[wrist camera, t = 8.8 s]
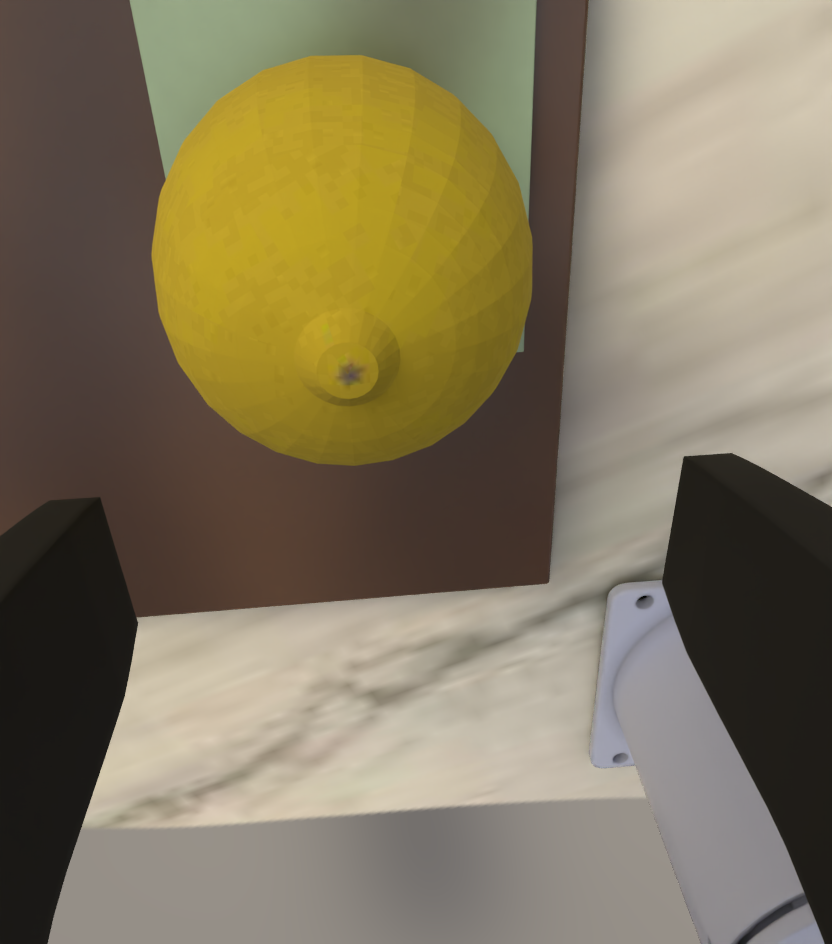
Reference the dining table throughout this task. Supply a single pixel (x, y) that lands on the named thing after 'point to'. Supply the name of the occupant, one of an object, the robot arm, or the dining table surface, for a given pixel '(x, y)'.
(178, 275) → the lemon
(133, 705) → the dining table surface
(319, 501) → the board
